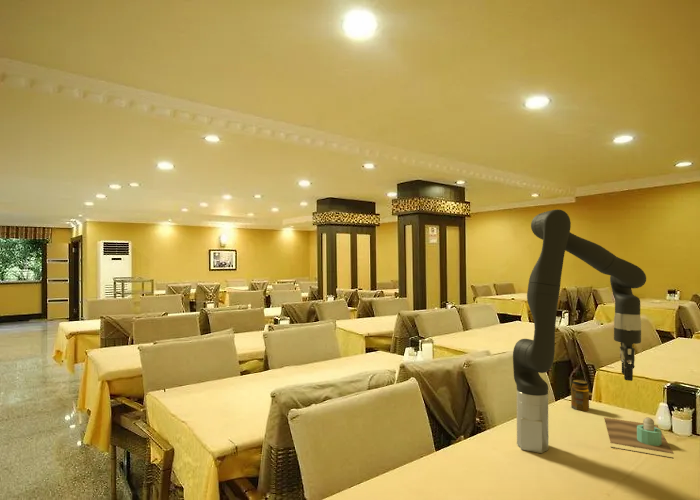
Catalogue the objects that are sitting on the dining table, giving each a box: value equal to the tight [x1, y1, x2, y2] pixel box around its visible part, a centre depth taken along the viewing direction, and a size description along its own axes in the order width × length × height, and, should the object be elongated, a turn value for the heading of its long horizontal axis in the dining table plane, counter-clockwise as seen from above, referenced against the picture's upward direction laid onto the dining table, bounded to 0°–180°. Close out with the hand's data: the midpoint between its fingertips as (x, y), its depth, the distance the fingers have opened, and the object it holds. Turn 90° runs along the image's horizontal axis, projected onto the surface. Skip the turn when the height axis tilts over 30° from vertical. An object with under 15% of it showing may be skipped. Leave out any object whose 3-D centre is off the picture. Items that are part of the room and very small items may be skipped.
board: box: [603, 417, 674, 460], centre depth 140 cm, size 24×16×9 cm, turn 153°
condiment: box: [570, 379, 590, 412], centre depth 163 cm, size 7×8×12 cm
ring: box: [637, 425, 662, 446], centre depth 134 cm, size 6×6×4 cm
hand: (626, 377), depth 138 cm, fingers open, 8 cm apart
